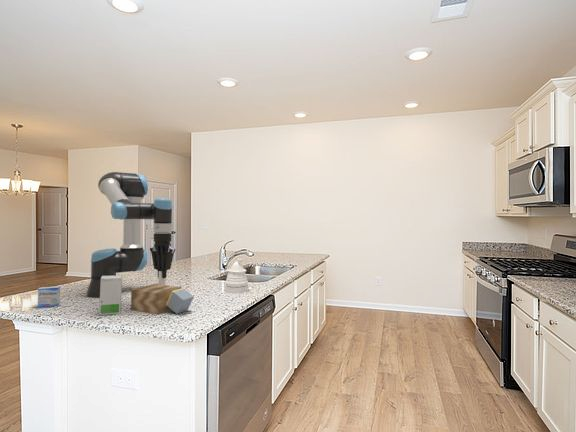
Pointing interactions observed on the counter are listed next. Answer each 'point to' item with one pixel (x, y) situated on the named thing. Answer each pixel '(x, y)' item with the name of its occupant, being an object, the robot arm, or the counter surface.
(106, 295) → the skincare box
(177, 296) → the slate-blue block
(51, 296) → the medicine box
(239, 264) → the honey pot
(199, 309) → the counter surface
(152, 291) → the oak plinth
